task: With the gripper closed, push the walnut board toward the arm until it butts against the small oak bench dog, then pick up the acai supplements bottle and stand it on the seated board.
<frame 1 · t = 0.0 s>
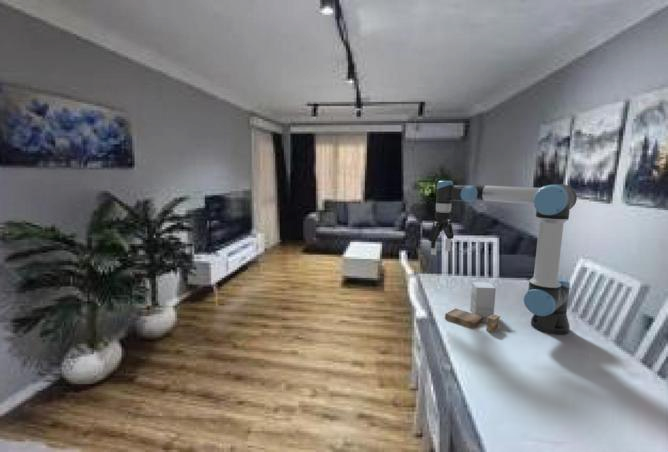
hand: (440, 252, 188), 28 cm above the table, fingers open, 13 cm apart
supplement box: (481, 314, 181), on the table
bench dog: (492, 329, 163), on the table
plate: (463, 321, 173), on the table
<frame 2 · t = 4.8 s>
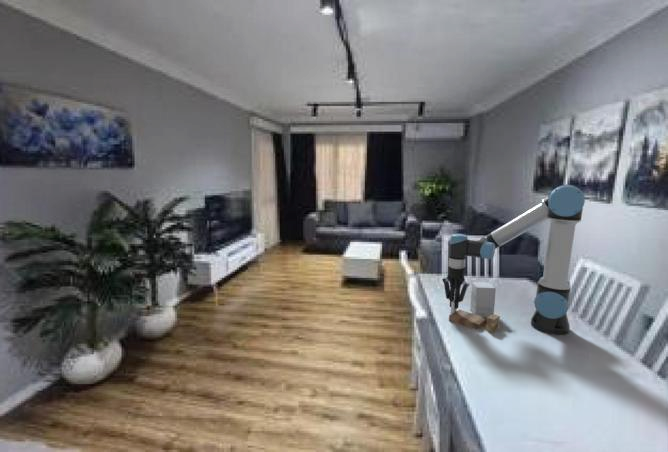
hand: (453, 314, 177), 1 cm above the table, fingers closed
plate: (467, 322, 171), on the table, touching gripper
everything else where it was.
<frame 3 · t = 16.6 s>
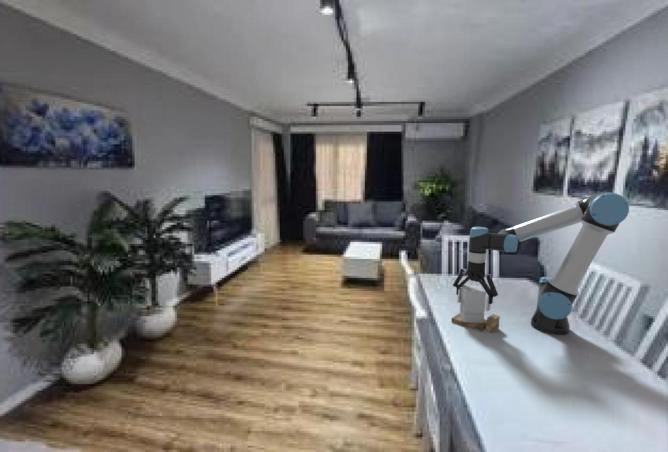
hand: (473, 306, 169), 8 cm above the table, fingers open, 13 cm apart
supplement box: (471, 319, 170), point 2 cm above the table, touching plate
plate: (470, 325, 170), on the table, touching supplement box
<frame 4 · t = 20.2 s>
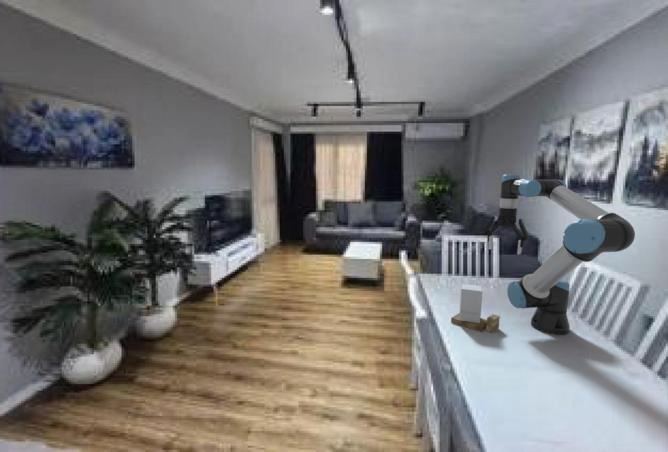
hand: (504, 251, 176), 32 cm above the table, fingers open, 13 cm apart
supplement box: (469, 319, 170), point 2 cm above the table, touching plate
everything else where it was.
at the end: plate 1.5 cm from the target spot, on the table; supplement box inside the target area on the plate (0.7 cm from its centre), point 2.8 cm above the plate's base; supplement box tilted 1° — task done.
